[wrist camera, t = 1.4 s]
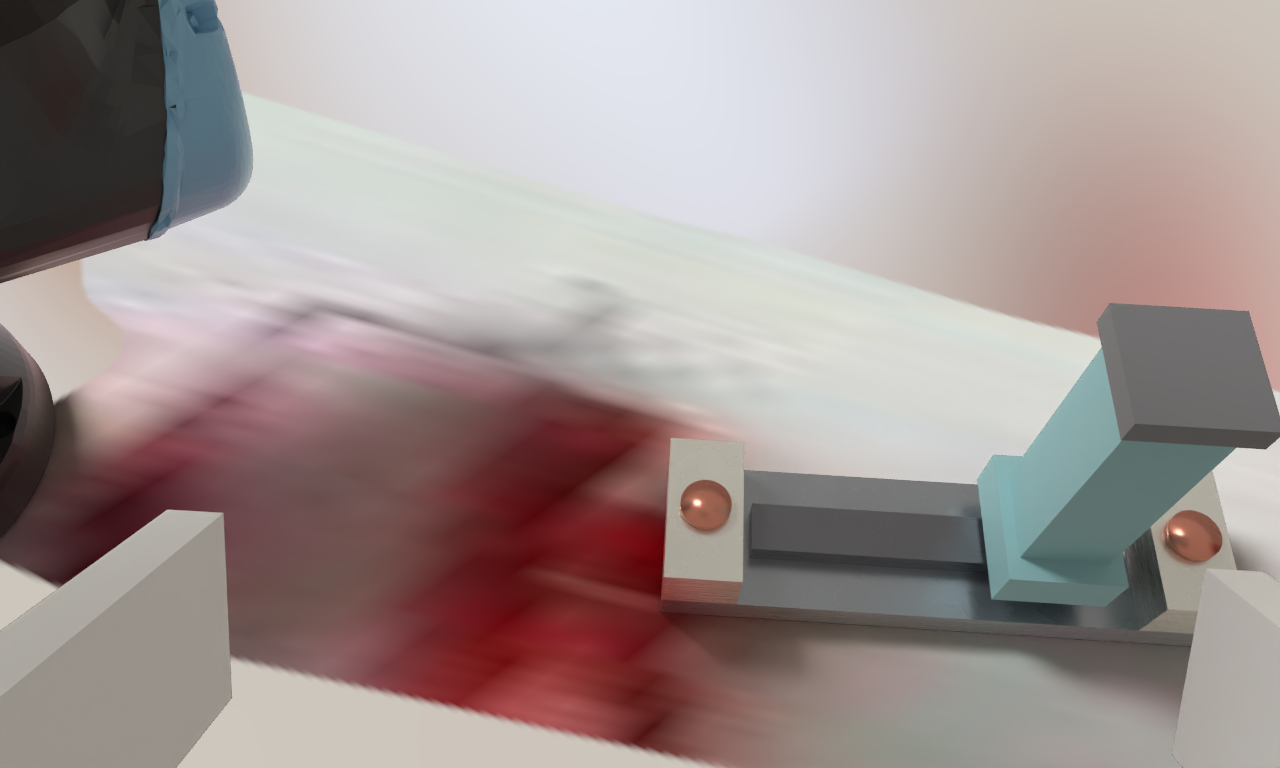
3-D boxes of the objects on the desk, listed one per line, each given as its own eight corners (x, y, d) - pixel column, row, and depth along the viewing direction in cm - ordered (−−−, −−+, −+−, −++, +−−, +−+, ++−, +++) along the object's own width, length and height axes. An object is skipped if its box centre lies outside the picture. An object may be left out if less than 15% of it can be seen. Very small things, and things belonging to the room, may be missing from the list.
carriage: (991, 599, 41) (1135, 438, 29) (977, 479, 43) (1103, 289, 32) (1105, 606, 41) (1293, 448, 29) (1083, 485, 43) (1248, 298, 32)
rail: (660, 612, 43) (664, 573, 39) (667, 480, 46) (671, 433, 42) (1197, 646, 43) (1253, 611, 39) (1168, 511, 46) (1217, 467, 42)
